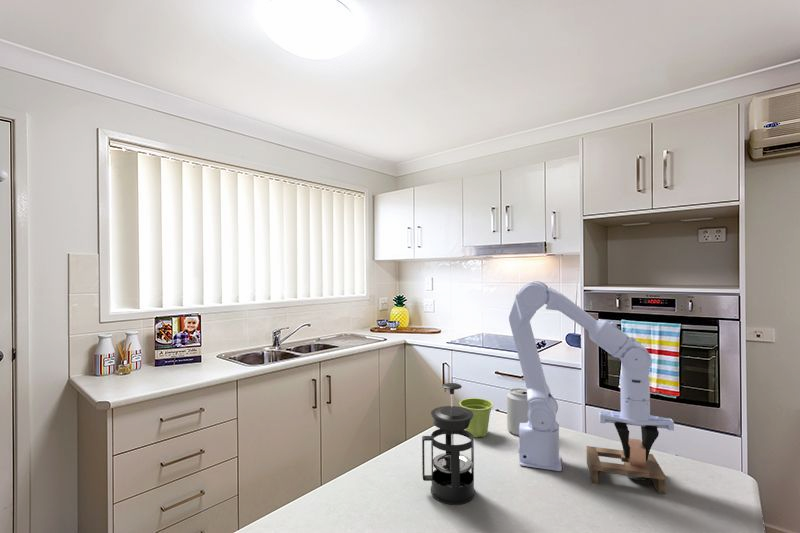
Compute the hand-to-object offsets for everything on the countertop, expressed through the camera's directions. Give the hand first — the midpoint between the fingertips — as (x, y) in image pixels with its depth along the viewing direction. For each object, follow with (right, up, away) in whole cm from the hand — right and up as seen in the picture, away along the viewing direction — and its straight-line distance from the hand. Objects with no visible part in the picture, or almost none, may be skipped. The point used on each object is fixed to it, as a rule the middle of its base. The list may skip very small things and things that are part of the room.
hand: (635, 457), depth 91 cm
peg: (0, -4, 0) cm, 4 cm away
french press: (-42, -5, -5) cm, 43 cm away
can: (-18, -5, +26) cm, 32 cm away
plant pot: (-31, -5, +25) cm, 40 cm away
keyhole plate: (-2, -5, +1) cm, 5 cm away
